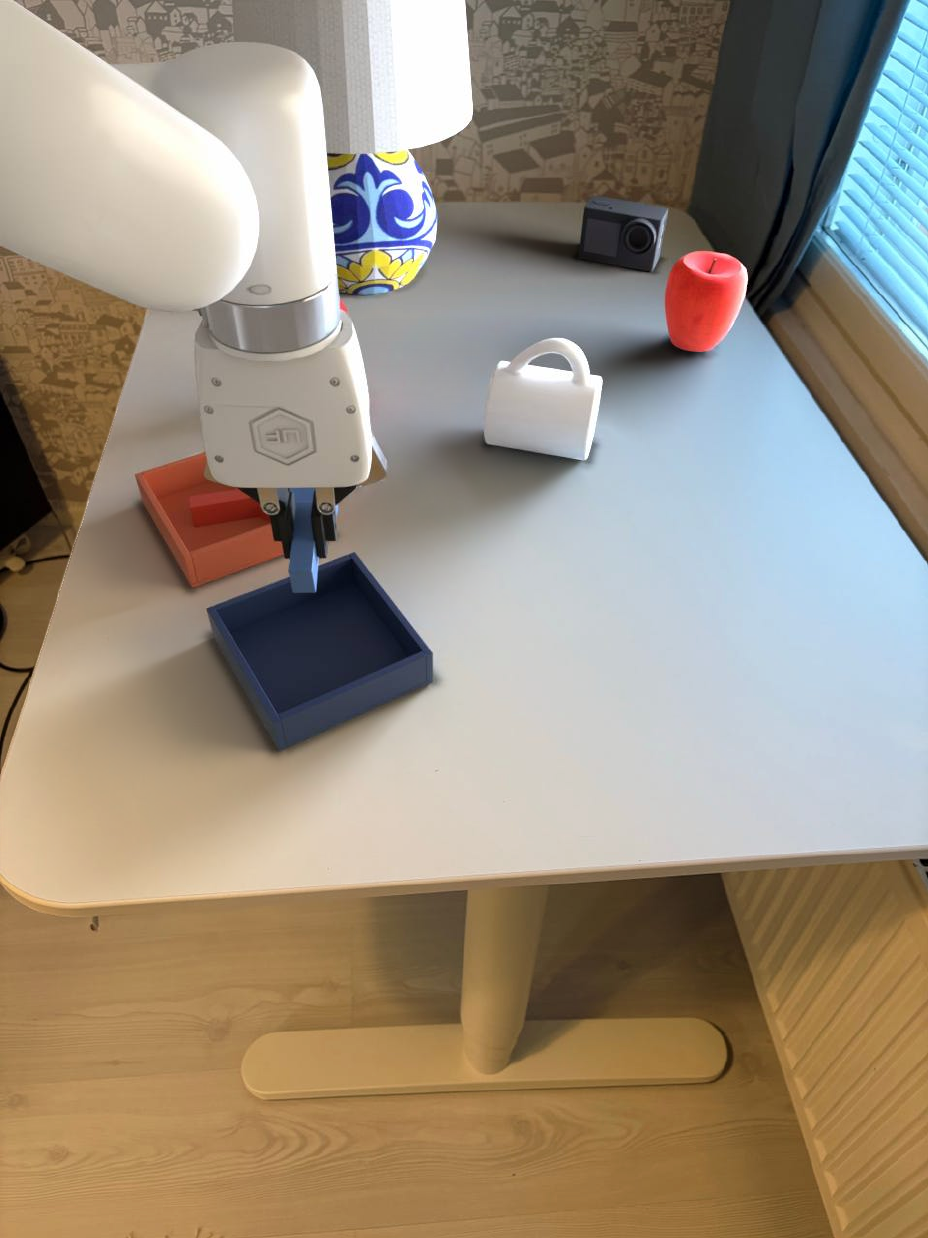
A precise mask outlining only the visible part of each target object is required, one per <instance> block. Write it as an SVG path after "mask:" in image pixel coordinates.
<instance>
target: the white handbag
mask: <svg viewBox="0 0 928 1238" xmlns="http://www.w3.org/2000/svg"><path fill="white" fill-rule="evenodd" d="M546 354H557V355H560V356H562V357H564V358H565V359H566V360H567V362H568V363H569V364H570V367H571V371H569V370H562V369H557V368H551V367H543V366H537V365H531V364H529V363H531V362H532V361H533V360H534V359H536V358H538V357H540V356H543V355H546ZM602 386H603V378H602V376H600V375H594V374H590V367H589V363H588V361H587V358H586V355H585V354H584V352H583V351H582V349H581V348H580V347H579V346H578V344H576V343H574V342H573V341H571V340H569V339H566V338H562V337H551V338H550V337H549V338H546V339H543V340H540V341H537V342H535V343H534V344H531V345H530V346H528V347H526V348H525V349H524V350H522V351H521V352H520V353H518V354H517V355H516V356H515V357H514V358H513V359H512V360H511V361H506V360H500V361H499V362H498V363H497V364H496V365H495V368H494V370H493V373H492V375H491V379H490V383H489V388H488V392H487V398H486V403H485V410H484V411H485V412H484V420H483V436H484V441H485V443H486V444H487V445H491V446H499V447H503V448H508V449H509V448H510V449H513V450H514V449H515V450H521V451H527V452H532V453H538V454H544V455H551V456H554V457H555V456H557V457H562V458H567V459H572V460H579V461H586V460H587V459H588V457H589V454H590V451H591V447H592V442H593V438H594V434H595V429H596V424H597V419H598V413H599V407H600V401H601V396H602V395H601V394H602Z"/></svg>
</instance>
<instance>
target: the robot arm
mask: <svg viewBox="0 0 928 1238" xmlns="http://www.w3.org/2000/svg"><path fill="white" fill-rule="evenodd" d="M0 247H2V248H4V249H6V250H9V251H10V252H13V253H14V254H17V255H19V256H21V257H24V258H26V259H28V260H30V261H32V262H34V263H36V264H39V265H41V266H44V267H45V268H48V269H51V270H53V271H55V272H57V273H60V274H62V275H64V276H66V277H69V278H72V279H74V280H76V281H78V282H80V283H82V284H85V285H87V286H90V287H92V288H95V289H96V290H99V291H101V292H104V293H106V294H108V295H110V296H112V297H115V298H117V299H120V300H122V301H125V302H127V303H129V304H132V305H135V306H137V307H140V308H143V309H148V310H151V311H159V312H165V313H166V312H167V313H178V312H179V313H180V312H190V311H197V313H198V315H199V316H200V317H201V318H202V320H201V322H200V323H199V326H198V327H197V329H196V331H195V334H194V347H193V348H194V352H193V353H194V354H193V355H194V372H195V373H194V375H195V385H196V394H197V395H196V396H197V402H198V403H197V404H198V411H199V419H200V425H201V433H202V439H203V446H204V452H206V457H207V462H206V466H205V471H204V476H205V478H206V479H207V480H210V481H213V482H217V483H220V484H224V485H228V486H231V487H237V488H238V489H239V490H240V491H242V492H243V493H245V494H246V495H248V496H249V497H251V498H252V499H254V500H255V501H257V502H258V503H260V504H261V508H262V510H263V512H264V513H266V514H268V515H269V516H270V522H271V527H272V533H273V538H274V541H282V546H283V552H284V554H283V557H284V559H285V560H290V551H291V542H292V539H293V530H294V521H295V512H296V507H295V500H294V494H293V491H290V488H315V491H314V495H313V503H312V511H311V524H312V531H313V539H314V541H315V545H316V553H317V557H319V559H327V558H328V557H327V556H328V550H329V542H337V540H338V520H337V516H336V510H335V506H336V505H337V504H340V503H341V502H342V501H344V500H345V499H346V498H347V497H348V496H349V495H351V494H352V493H353V492H355V491H356V489H357V487H364V486H368V485H371V484H375V483H378V482H381V481H383V480H385V479H386V478H387V475H388V461H387V459H386V457H385V455H384V453H383V451H382V449H381V447H380V446H379V443H378V442H377V440H376V438H375V436H374V434H373V420H372V419H373V418H372V411H371V404H370V395H369V387H368V383H367V376H366V371H365V365H364V360H363V356H362V351H361V347H360V343H359V339H358V336H357V333H356V329H355V326H354V323H353V321H352V320H353V319H352V318H351V315H350V314H349V313H348V314H347V313H346V312H345V311H344V310H341V309H340V301H339V296H340V292H339V289H338V278H337V269H336V258H335V246H334V235H333V224H332V212H331V201H330V190H329V178H328V166H327V154H326V143H325V131H324V119H323V107H322V100H321V93H320V87H319V84H318V81H317V78H316V75H315V73H314V71H313V69H312V68H311V67H310V65H309V64H308V63H307V62H306V60H305V59H303V58H302V57H301V56H299V55H298V54H296V53H295V52H293V51H291V50H288V49H285V48H282V47H278V46H275V45H270V44H265V43H257V42H234V41H229V42H219V43H212V44H208V45H202V46H200V47H197V48H194V49H190V50H188V51H186V52H184V53H182V54H180V55H178V56H176V57H175V58H173V59H170V60H161V61H152V62H151V61H150V62H132V63H108V62H106V61H105V60H103V59H102V58H101V57H99V56H97V54H94V53H93V52H92V51H90V50H88V48H86V47H85V46H83V45H81V44H79V43H78V42H76V41H75V40H73V39H72V38H71V37H69V36H68V35H66V34H65V33H63V32H62V31H60V30H58V29H57V28H56V27H55V26H53V25H52V24H50V23H48V22H46V21H45V20H43V19H42V18H41V17H39V16H38V15H36V14H34V13H33V12H31V11H30V10H29V9H27V8H25V7H24V6H23V5H21V4H19V3H18V2H16V1H15V0H0Z"/></svg>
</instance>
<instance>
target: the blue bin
mask: <svg viewBox="0 0 928 1238" xmlns="http://www.w3.org/2000/svg"><path fill="white" fill-rule="evenodd" d="M205 610H206V613H207V617H208V621H209V623H210V627H211V628H210V629H211V632H212V637H213V639H214V641H215V642H216V644H217V646H218V647H219V649H220V651H221V653H222V655H223V656H224V658H225V660H226V661H227V663H228V665H229V666H230V668H231V670H232V673H234V676H235V677H236V679H237V680H238V682H239V684H240V686H241V688H242V689H243V691H244V693H245V695H246V696H247V698H248V700H249V702H250V703H251V705H252V706H253V708H254V711H255V713H256V714H257V716H258V717H259V719H260V721H261V722H262V724H263V727H264V728H265V729H266V732H267V733H268V736H269V737H270V738H271V740H272V741H273V743H274V745H275V747H276V749H277V750H278V752H281V751H284V750H286V749H288V748H290V747H293V746H295V745H297V744H300V743H301V742H304V741H306V740H309V739H310V738H312V737H315V736H317V735H319V734H322V733H324V732H326V731H328V730H330V729H332V728H334V727H336V726H339V725H341V724H343V723H346V722H348V721H350V720H352V719H354V718H356V717H358V716H361V715H362V714H365V713H367V712H369V711H372V710H374V709H376V708H378V707H381V706H383V705H384V704H386V703H389V702H391V701H393V700H396V699H398V698H400V697H402V696H404V695H406V694H409V693H411V692H413V691H416V690H418V689H420V688H422V687H424V686H427V685H428V684H431V683H433V682H434V652H433V650H432V649H431V648H430V647H429V646H428V645H427V643H426V642H425V641H424V639H423V638H422V637H421V635H420V634H419V633H418V632H417V630H416V629H415V628H414V626H413V625H412V624H411V623H410V621H409V620H408V619H407V618H406V616H405V615H404V614H403V612H402V611H401V609H400V608H399V607H398V606H397V604H396V603H395V602H394V600H393V599H392V597H390V596H389V594H388V593H387V591H386V590H385V589H384V588H383V586H382V585H381V584H380V583H379V581H378V580H377V579H376V578H375V576H374V574H372V572H371V571H370V569H369V568H368V567H367V566H366V564H365V563H364V562H363V561H362V559H361V558H360V557H359V555H358V554H357V553H356V552H355V551H353V552H350V553H348V554H345V555H342V556H340V557H337V558H334V559H331V560H329V561H327V562H324V563H322V564H318V574H317V586H316V592H315V593H293V591H292V586H291V582H290V577H289V576H287V577H285V578H281V579H279V580H276V581H274V582H271V583H269V584H267V585H264V586H261V587H259V588H255V589H253V590H251V591H248V592H246V593H242V594H240V595H238V596H234V597H232V598H230V599H227V600H224V601H222V602H219V603H216V604H214V605H210V606H208V607H206V609H205Z"/></svg>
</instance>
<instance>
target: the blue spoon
mask: <svg viewBox="0 0 928 1238" xmlns="http://www.w3.org/2000/svg"><path fill="white" fill-rule="evenodd" d="M290 491H293V494H294V500H295V507H296V512H295V521H294V530H293V539H292V542H291V551H290V559H288V560H289V562H288V570H287V572H288V577H290V582H291V586H292V591H293V593H315V592H316V586H317V574H318V566H319V563H320V562H319V561H320V558H319V557H317V553H316V545H315V541H314V539H313V531H312V524H311V511H312V503H313V495H314V491H315V488H290ZM335 510H336V517H337V516H338V514H339V513H338V512H339V505H338V504H337V505H336V506H335Z"/></svg>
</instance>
